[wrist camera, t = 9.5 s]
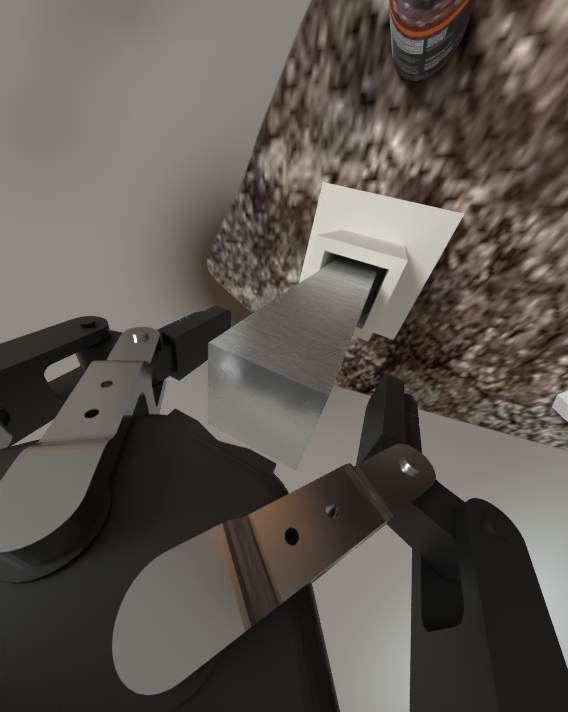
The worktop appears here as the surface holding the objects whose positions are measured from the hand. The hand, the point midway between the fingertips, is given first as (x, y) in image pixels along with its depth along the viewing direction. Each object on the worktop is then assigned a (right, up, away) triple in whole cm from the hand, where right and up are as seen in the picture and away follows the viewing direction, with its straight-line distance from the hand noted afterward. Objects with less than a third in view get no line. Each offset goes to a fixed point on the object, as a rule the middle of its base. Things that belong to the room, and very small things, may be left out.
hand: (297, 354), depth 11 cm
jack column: (+7, +8, +14) cm, 18 cm away
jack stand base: (+10, +12, +21) cm, 26 cm away
